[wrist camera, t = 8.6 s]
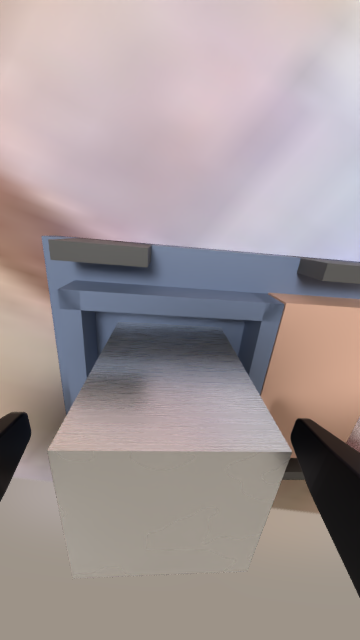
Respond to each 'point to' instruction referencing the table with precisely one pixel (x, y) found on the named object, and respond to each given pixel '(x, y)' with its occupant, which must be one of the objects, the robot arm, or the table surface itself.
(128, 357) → the grey rectangular block
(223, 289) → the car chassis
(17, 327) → the table surface
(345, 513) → the robot arm
